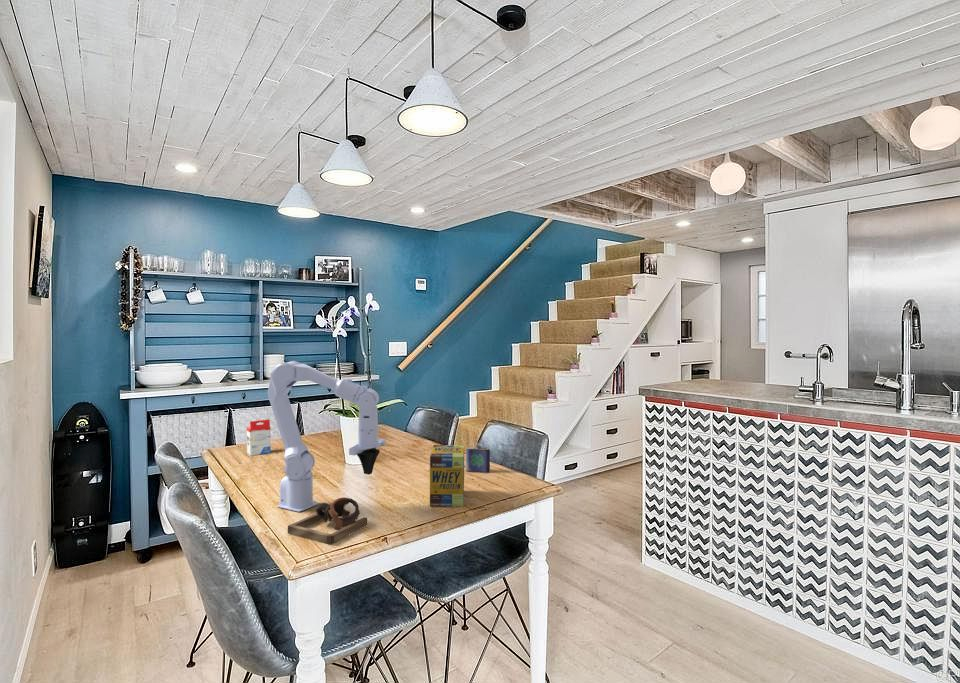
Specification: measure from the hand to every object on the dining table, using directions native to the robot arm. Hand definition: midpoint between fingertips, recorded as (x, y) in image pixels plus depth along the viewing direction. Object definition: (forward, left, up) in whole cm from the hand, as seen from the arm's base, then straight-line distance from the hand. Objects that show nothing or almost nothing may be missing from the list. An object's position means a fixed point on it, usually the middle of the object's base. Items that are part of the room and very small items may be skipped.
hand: (367, 473), depth 151 cm
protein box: (+18, +17, -10) cm, 27 cm away
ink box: (-83, +28, -10) cm, 88 cm away
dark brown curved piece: (+2, -15, -10) cm, 18 cm away
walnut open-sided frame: (+2, -19, -10) cm, 22 cm away
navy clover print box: (+13, +48, -10) cm, 51 cm away
